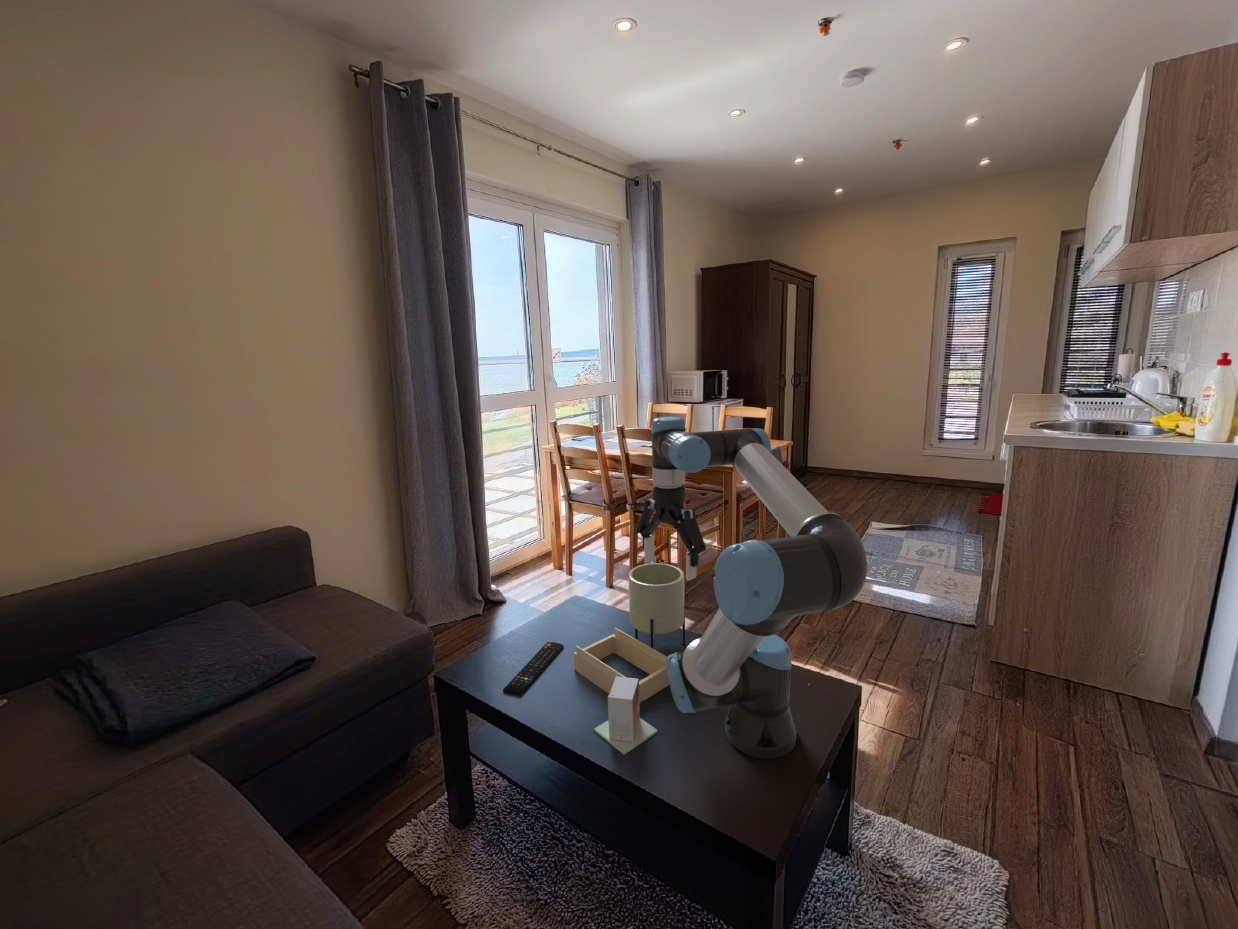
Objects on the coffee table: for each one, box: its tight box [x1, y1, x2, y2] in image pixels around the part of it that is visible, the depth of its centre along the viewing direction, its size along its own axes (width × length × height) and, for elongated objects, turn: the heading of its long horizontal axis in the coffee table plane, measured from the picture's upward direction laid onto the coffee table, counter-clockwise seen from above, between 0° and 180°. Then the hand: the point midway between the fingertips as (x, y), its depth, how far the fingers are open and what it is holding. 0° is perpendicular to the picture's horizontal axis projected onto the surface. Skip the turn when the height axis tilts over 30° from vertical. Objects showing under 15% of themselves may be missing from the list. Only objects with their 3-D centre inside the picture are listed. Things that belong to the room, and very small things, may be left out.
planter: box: [628, 562, 686, 649], centre depth 152 cm, size 15×16×23 cm
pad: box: [593, 717, 658, 756], centre depth 122 cm, size 10×10×1 cm
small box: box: [607, 676, 641, 742], centre depth 121 cm, size 8×6×10 cm
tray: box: [573, 627, 670, 704], centre depth 141 cm, size 22×14×7 cm, turn 41°
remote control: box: [502, 641, 565, 697], centre depth 147 cm, size 5×24×1 cm, turn 159°
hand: (669, 570), depth 130 cm, fingers open, 13 cm apart
